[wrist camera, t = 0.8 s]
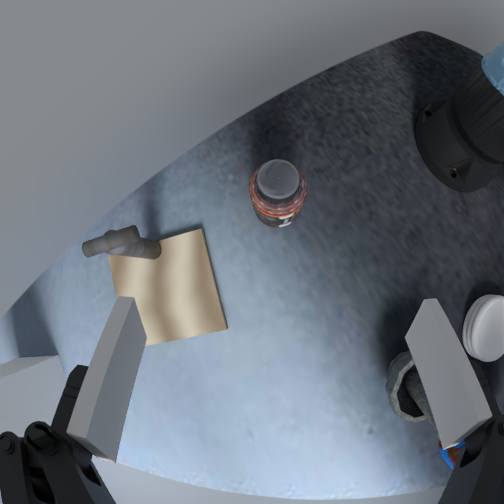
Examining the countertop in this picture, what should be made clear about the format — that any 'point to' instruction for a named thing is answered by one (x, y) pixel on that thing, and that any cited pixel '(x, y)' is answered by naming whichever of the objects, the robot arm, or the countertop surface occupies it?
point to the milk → (29, 392)
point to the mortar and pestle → (407, 391)
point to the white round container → (485, 328)
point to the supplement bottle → (277, 192)
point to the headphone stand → (164, 281)
